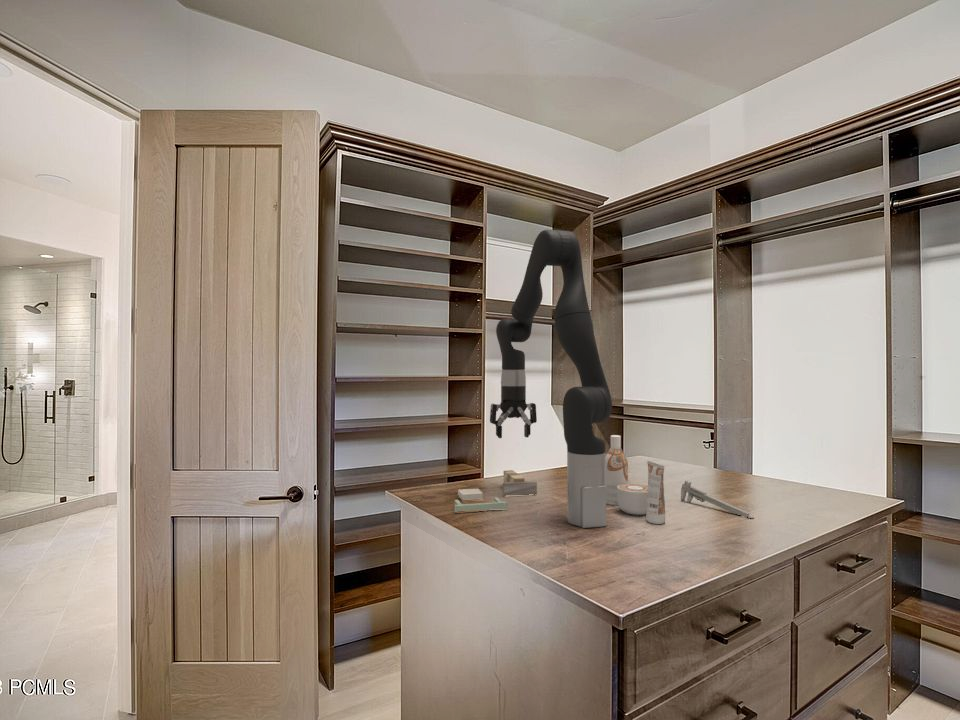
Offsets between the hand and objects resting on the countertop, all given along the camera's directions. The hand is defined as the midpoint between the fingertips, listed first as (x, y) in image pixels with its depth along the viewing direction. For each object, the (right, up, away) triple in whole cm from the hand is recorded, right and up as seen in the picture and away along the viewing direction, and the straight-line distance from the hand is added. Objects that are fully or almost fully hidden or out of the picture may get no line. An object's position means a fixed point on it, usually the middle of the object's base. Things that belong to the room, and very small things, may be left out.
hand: (513, 437), depth 159 cm
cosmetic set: (+30, -16, -23) cm, 41 cm away
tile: (-13, -17, -9) cm, 23 cm away
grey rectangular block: (0, -16, 0) cm, 16 cm away
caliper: (+53, -16, -21) cm, 59 cm away
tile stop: (-11, -16, -20) cm, 27 cm away
